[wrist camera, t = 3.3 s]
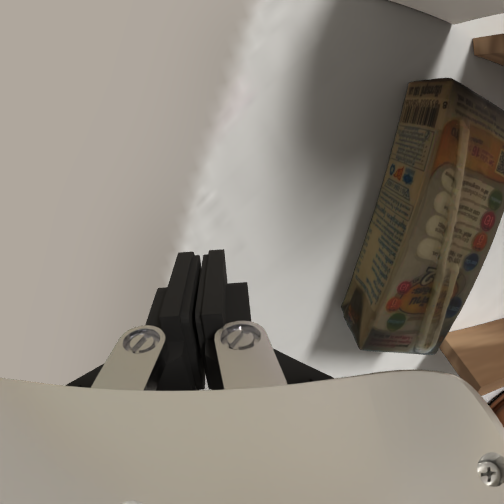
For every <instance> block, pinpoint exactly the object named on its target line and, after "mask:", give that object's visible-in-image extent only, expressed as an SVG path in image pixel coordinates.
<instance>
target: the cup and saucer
mask: <svg viewBox="0 0 504 504" xmlns="http://www.w3.org/2000/svg"><path fill="white" fill-rule="evenodd" d="M490 408H491V409H492V411H493V412H494V413H495V415H496V416H497V418H498V419H499V421H500V422H501V424H502V425H503V427H504V393H503V394H502V395H501V396H499V397H498V398H497V399H496V400H495V401H494V402H493V403H492V404H491V405H490Z"/></svg>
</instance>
